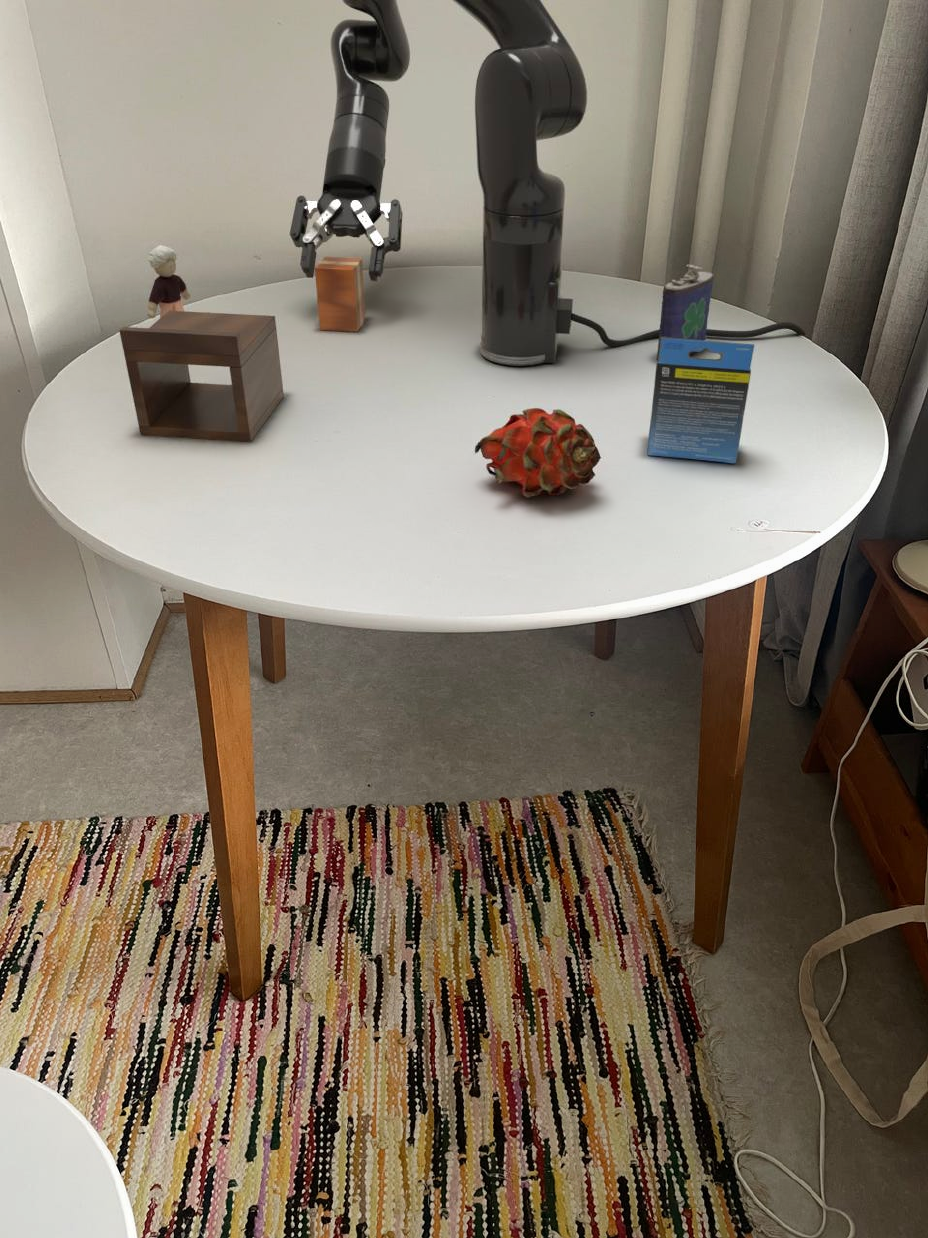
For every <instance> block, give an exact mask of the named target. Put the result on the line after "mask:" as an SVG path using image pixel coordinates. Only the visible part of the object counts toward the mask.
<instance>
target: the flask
mask: <svg viewBox="0 0 928 1238" xmlns="http://www.w3.org/2000/svg"><path fill="white" fill-rule="evenodd" d="M685 267H687V268H688V271H687V272H686V273H685V274H684V275H683V278H679V280H676V279H672V280H671V282H668V283H666V284H665V285H664V286H663V289H662V301H661V310H660V311H661V312H660V323H659V329H658V330H659V336H658V344H657V352H656V363H657V362H658V355H659V347H660V337H669V338H679V339H694V340H706V337H707V336H706V329H708V318H709V313H710V304H711V298H712V291H713V284H714V277H715V275H714V274H713V273H712V272H708V271H702V270H703V268H704V267H701V266H696V265H694V264H686V266H685ZM696 353H697V352H694V351H692V352H690V353H689V356H690V357H692V355H694V354H696Z"/></svg>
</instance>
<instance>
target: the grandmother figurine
mask: <svg viewBox="0 0 928 1238" xmlns="http://www.w3.org/2000/svg"><path fill="white" fill-rule="evenodd" d="M176 260H178V259H177V253H176V251H175V250H174V248H170V246H165V245H162V244H160V245H158V246H156V247H155V248H153V249H152V250H151V251H149V253H148V262H149V264H150V268H153V270H154V272H155V273H156V274H157V275H158V276H157V277H156V278H155V279H154V281H153V285H152V287H151V291H150V295H149V297H148V306H147V309H148V310H147V312H146V315H147V317H148V319H155V318H156V317H157V310H158V307H159V308H160V309H159V310H160V311H159V319H160V318H161V317H162V316H163V315H165V314H166V313H167V312H168V311H185V309H184V305H183V302H182V299H183V300H184V301H187V300H189V299H190V298H191V293H190V292H189V291H188V288H187V284H186V283H185V281H184V280H183V278H182V277H180V275H176V274H175V272H176V270H177V263H176Z"/></svg>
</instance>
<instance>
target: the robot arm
mask: <svg viewBox="0 0 928 1238" xmlns="http://www.w3.org/2000/svg"><path fill="white" fill-rule="evenodd" d="M452 1H453V2H454V3H455V4H456V5H457V6H458V7H460V9H462V10H463V11H465V12H466V13H467V14H468V15H469V16H470V17H471V18H473V19H474V20H475V21H476V22H478V23H479V24H480V25H481V26H482V27H483V28H484V29H485V30H486V32H488V34H490V37H492V39H493V40H494V41H495V43H496V44H497V46H498V47H499V48H497V49H495V50H493V51H491V52H490V53H489V54H487V56H486V57H485V58H484V59H483V61H482V63H481V65H480V67H479V70H478V74H477V76H476V82H475V88H474V89H475V90H474V121H475V123H474V124H475V125H474V127H475V143H476V145H475V146H476V147H475V148H476V169H477V176H478V180H479V184H480V187H481V191H482V261H481V262H482V268H481V269H482V270H481V271H482V272H481V273H482V274H481V275H482V277H481V335H480V338H481V339H480V340H481V341H480V354H481V355H482V357H484V358H485V359H486V360H488V361H491V362H494V363H496V364H501V365H507V366H517V367H518V366H519V367H520V366H521V367H522V366H523V367H525V366H535V365H539V364H545V363H549V364H553V363H555V360H556V356H557V353H558V339H559V334H560V335H561V334H562V335H570V333H571V327H572V322H575V323H578V324H581V325H583V326H585V327H588V328H591V329H592V330H594V332H596V333H597V334H598V335H599V338H600V340H601V341H602V342H603V344H605V345H606V346H608V347H611V348H618V347H625V346H629V345H634V344H637V343H641V342H645V341H649V340H652V339H654V338H657V337H658V338H659V329H655V330H652V331H649V332H646V333H644V334H641V335H638V336H635V337H633V338H629V339H623V340H618V339H612V338H610V337H609V336H608V334H607V332H606V330H605V328H604V327H603V326H602V325H600V324H599V323H597V322H596V321H594V320H591V319H589V318H586V317H583V316H581V315H578V314H576V313H573V306H574V305H573V304H574V299H573V298H563V297H561V289H562V288H561V287H562V286H561V285H562V270H561V269H562V267H561V265H562V249H563V232H564V231H563V229H564V214H565V213H564V212H565V197H566V187H565V183H564V181H563V180H562V179H561V178H560V177H559V176H557V175H555V174H552V173H548V172H545V171H543V170H542V169H541V168H540V166H539V162H538V161H539V160H538V143H537V142H538V141H544V140H549V139H554V138H559V137H562V136H565V135H567V134H570V133H571V132H574V130H576V129H577V128H578V127H579V126H580V124H581V122H582V121H583V119H584V117H585V114H586V111H587V105H588V104H587V103H588V90H587V89H588V88H587V82H586V78H585V75H584V71H583V68H582V66H581V63H580V60H579V59H578V57H577V55H576V53H575V52H574V50H573V48H572V46H571V45H570V43H569V41H568V39H567V38H566V36H565V35H564V34H563V32H562V30H561V29H560V28H559V26H558V25H557V23H556V22H555V20H554V18H553V17H552V16H551V14H550V13H549V11H548V10H547V8H546V6H545V5H544V3H543V2H542V1H541V0H452ZM341 2H342V3H344V4H345V5H346V6H347V7H349V8H350V9H353V10H356V11H358V12H362V13H364V14H366V15H368V16H370V17H371V18H373V20H366V19H352V18H351V19H350V18H349V19H343V20H342V21H340V22H339V23H338V24H337V25H336V26H335V27H334V29H333V31H332V33H331V37H330V55H331V59H332V65H333V71H334V75H335V84H336V103H335V109H334V117H333V125H332V129H331V133H330V136H329V140H328V147H327V154H326V161H325V170H324V175H323V183H322V190H321V191H322V193H321V196H320V198H318V200H308V199H307V198H306V196H304V195H299V196H297V197H296V199H295V206H294V211H293V215H292V220H291V224H290V225H291V226H290V230H289V236H290V239H291V241H292V242H293V244H294V246H295V247H296V248H302V249H301V255H300V263H299V265H300V268H301V270H302V272H303V274H305V277H306V278H309V279H313V278H314V276H315V267H316V260H317V249H318V248H319V247H320V246H321V245H322V244H323V243H327V242H328V241H329V240H330V239H331V238H333V236H334V235H335V237H337V238H343V237H344V238H345V237H351V238H359V239H360V237H362V236H364V235H365V237H366V239H367V240H368V242H369V243H370V244H371V246H372V247H371V250H370V251H371V252H370V257H369V258H370V260H369V266H368V276H369V279H370V281H371V282H378V278H381V277H382V275H383V273H384V265H385V259H386V258H385V257H386V255H387V253H389V252H394V253H398V252H399V251H400V250H401V247H402V231H403V230H402V229H403V210H402V206H401V203H400V201H399V200H398V199H397V198H395V199H392V200H391V201H390V203H381V202H380V201H381V193H382V186H383V185H382V184H383V177H384V168H385V167H386V152H387V151H386V150H387V144H386V143H387V142H386V141H387V140H386V138H387V131H388V123H389V122H388V121H389V114H390V99H389V95H388V93H387V91H386V90H385V89H384V88H383V87H382V86H381V85H379V84H378V83H376V82H384V83H385V82H387V83H393V82H398V81H400V80H402V78H404V76H405V75H406V73H407V71H408V69H409V66H410V62H411V49H410V43H409V38H408V35H407V31H406V28H405V25H404V22H403V20H402V19H403V18H402V17H401V12H400V10H399V6H398V2H397V0H341ZM375 81H376V82H375ZM317 212H318V213H319V216H318V217H317V218H316V219H315V220H314V221H313V222H312V226H311V228H310V229H308V222H309V220H311V219H313V217H314V214H315V213H317ZM382 215H383V216H385V220H386V221H387V222H388V236H386V237H382V236H381V234H380V233H379V231H378V230H377V228H376V226H375V223H376V222H377V221H378V220H379V219H380V218H381V216H382ZM307 229H308V230H307ZM779 330H790V331H793V332H794V333H795V334H797V335H798V336H806V335H807V334H806V332H805V330H804V329H803V328H802V327H801V326H799V325H798V324H797V323H794V322H789V321H788V322H787V321H782V322H775V323H773V324H770V325H767V326H763V327H760V328H756V329H752V330H751V329H750V330H726V329H725V330H724V329H711V328H707V329H706V336H705V337H715V338H730V339H747V338H756V337H758V336H762V335H766V334H769V333H772V332H775V331H779Z"/></svg>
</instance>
